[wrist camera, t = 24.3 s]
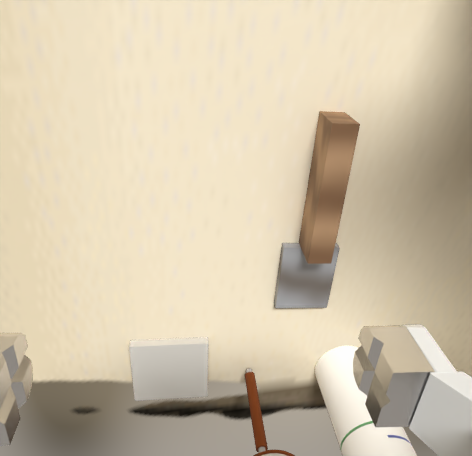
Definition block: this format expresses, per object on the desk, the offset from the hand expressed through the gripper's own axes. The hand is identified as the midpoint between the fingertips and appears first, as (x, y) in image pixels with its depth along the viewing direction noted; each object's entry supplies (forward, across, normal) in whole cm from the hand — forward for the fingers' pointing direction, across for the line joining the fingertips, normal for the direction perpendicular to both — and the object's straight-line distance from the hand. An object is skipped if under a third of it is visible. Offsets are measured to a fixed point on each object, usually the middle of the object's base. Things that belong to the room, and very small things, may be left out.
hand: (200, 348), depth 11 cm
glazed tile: (+31, +2, +29) cm, 42 cm away
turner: (+31, -13, +12) cm, 36 cm away
